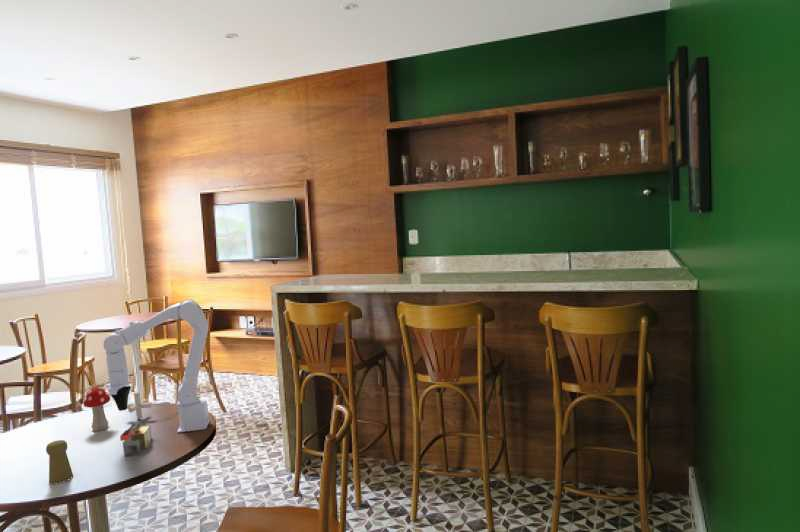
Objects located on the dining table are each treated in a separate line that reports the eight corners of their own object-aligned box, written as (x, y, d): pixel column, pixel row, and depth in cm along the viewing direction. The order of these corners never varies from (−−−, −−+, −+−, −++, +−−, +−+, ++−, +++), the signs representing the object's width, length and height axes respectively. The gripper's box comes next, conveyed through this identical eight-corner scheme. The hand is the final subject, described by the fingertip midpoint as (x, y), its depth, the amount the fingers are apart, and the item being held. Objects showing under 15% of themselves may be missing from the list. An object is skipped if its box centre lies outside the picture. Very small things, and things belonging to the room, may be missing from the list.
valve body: (154, 437, 190) (152, 419, 190) (142, 454, 176) (139, 434, 176) (135, 440, 189) (133, 421, 189) (121, 456, 176) (119, 437, 175)
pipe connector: (159, 413, 216) (156, 387, 215) (145, 423, 206) (141, 396, 205) (134, 414, 217) (131, 389, 216) (119, 424, 207) (115, 397, 206)
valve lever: (133, 426, 183) (132, 422, 183) (141, 425, 184) (141, 421, 184) (119, 440, 171) (119, 436, 171) (128, 439, 172) (128, 435, 171)
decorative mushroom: (112, 429, 202) (107, 388, 200) (85, 435, 198) (79, 393, 197) (114, 421, 211) (109, 381, 209) (88, 426, 207) (83, 386, 206)
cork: (55, 475, 165) (50, 439, 165) (77, 473, 166) (72, 436, 165) (44, 485, 159) (39, 447, 159) (66, 482, 160) (61, 444, 159)
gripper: (112, 365, 194) (117, 404, 195) (96, 377, 180) (102, 418, 181) (134, 363, 195) (139, 401, 197) (120, 374, 181) (125, 415, 182)
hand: (122, 409), depth 189 cm, fingers closed
